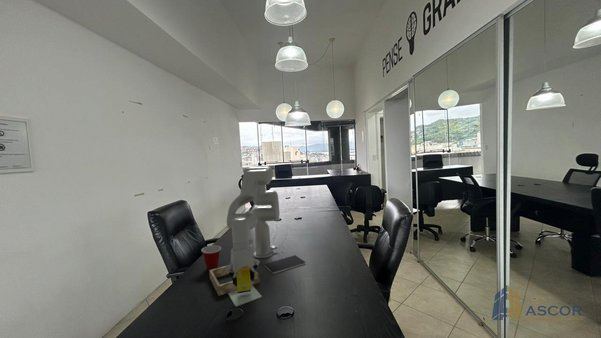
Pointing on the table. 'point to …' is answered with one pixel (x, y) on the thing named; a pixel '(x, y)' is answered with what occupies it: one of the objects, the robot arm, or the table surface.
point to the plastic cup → (211, 256)
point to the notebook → (284, 264)
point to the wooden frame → (228, 286)
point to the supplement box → (243, 280)
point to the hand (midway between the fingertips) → (243, 282)
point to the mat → (244, 296)
